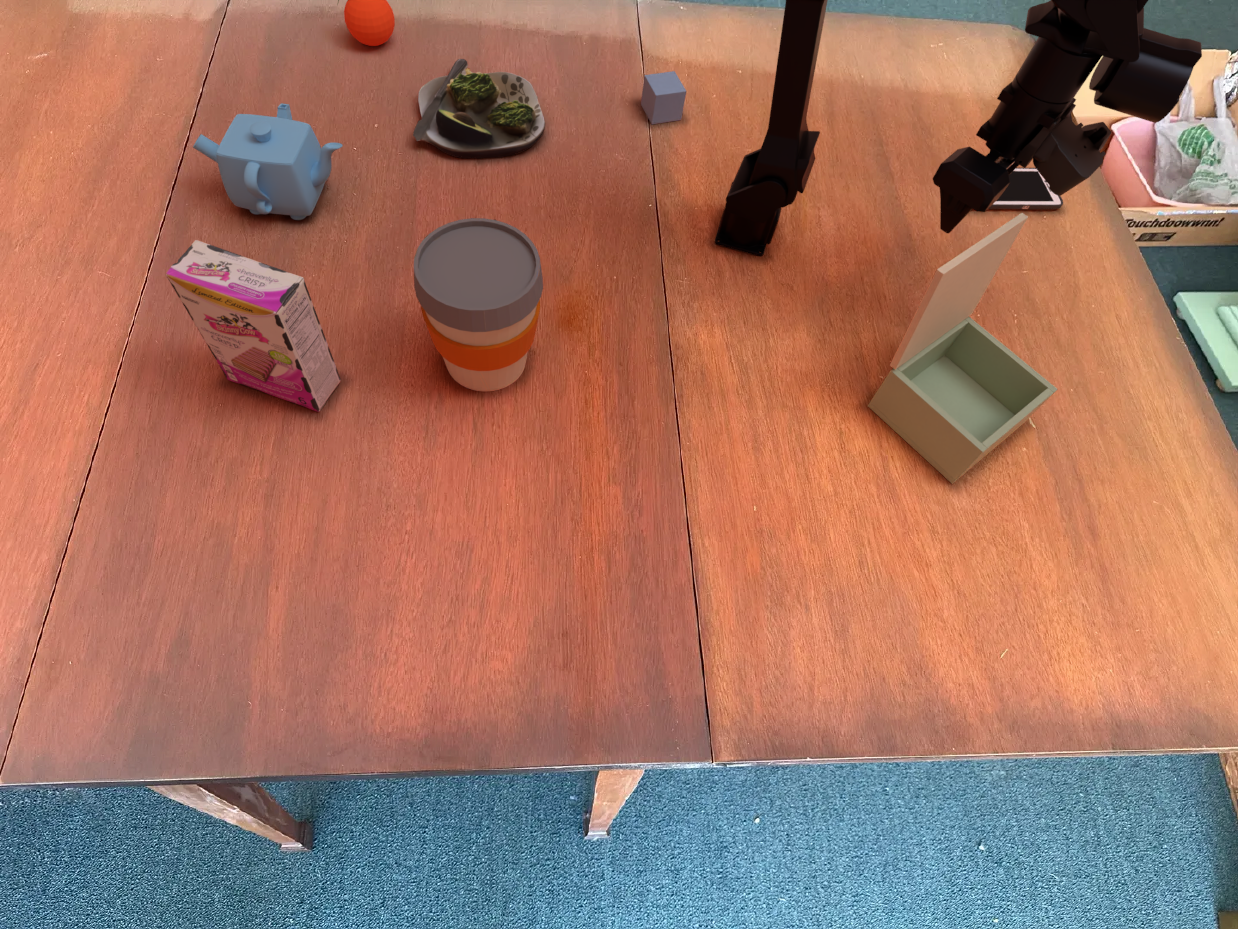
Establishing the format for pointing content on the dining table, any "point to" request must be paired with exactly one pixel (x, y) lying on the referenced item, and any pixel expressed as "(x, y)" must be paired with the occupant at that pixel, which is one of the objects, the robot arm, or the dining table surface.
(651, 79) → the block
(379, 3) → the clementine
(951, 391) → the chest
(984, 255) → the lid
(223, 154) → the teapot
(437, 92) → the avocado toast plate
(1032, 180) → the cell phone
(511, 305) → the reusable coffee cup
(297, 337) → the candy bar box
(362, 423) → the dining table surface
